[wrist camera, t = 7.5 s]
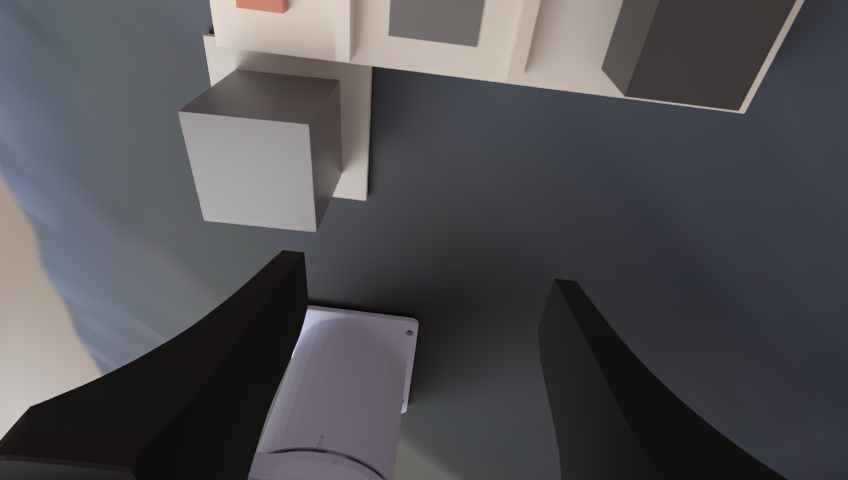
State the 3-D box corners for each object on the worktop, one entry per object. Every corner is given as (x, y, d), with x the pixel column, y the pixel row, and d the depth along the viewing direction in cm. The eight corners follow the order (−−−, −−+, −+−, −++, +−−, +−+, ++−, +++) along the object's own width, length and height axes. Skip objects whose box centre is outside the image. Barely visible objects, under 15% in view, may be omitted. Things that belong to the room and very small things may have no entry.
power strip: (715, 92, 20) (790, 147, 15) (242, 31, 19) (175, 69, 15) (789, -63, 16) (914, -51, 12) (222, -138, 16) (129, -155, 12)
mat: (367, 196, 24) (366, 200, 23) (230, 179, 24) (227, 183, 23) (372, 54, 20) (371, 56, 19) (207, 33, 19) (202, 35, 19)
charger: (339, 80, 20) (308, 124, 16) (342, 174, 23) (316, 233, 18) (235, 69, 20) (177, 111, 16) (250, 165, 23) (204, 221, 19)
